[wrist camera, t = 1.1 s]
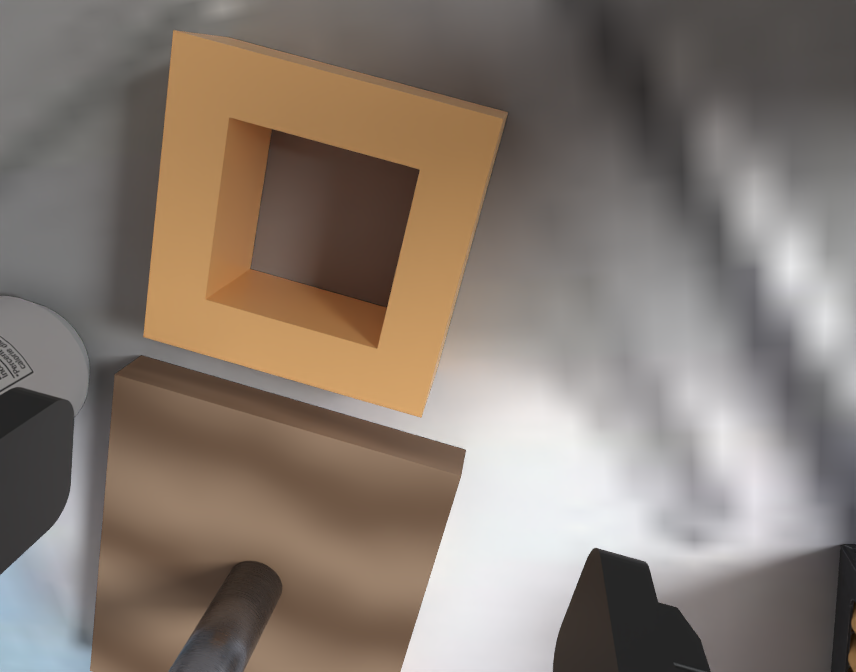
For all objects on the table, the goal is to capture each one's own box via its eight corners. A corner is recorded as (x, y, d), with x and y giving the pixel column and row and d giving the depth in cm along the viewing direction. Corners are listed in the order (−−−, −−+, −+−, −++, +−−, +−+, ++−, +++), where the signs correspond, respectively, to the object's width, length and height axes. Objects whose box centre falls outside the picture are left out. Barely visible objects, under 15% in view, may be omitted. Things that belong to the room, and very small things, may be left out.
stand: (141, 355, 29) (-49, 490, 20) (465, 449, 28) (431, 636, 19) (113, 639, 35) (-43, 848, 25) (381, 722, 34) (323, 968, 25)
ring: (228, 37, 24) (173, 29, 20) (508, 112, 24) (503, 118, 20) (195, 302, 28) (143, 336, 24) (436, 371, 27) (421, 417, 24)
